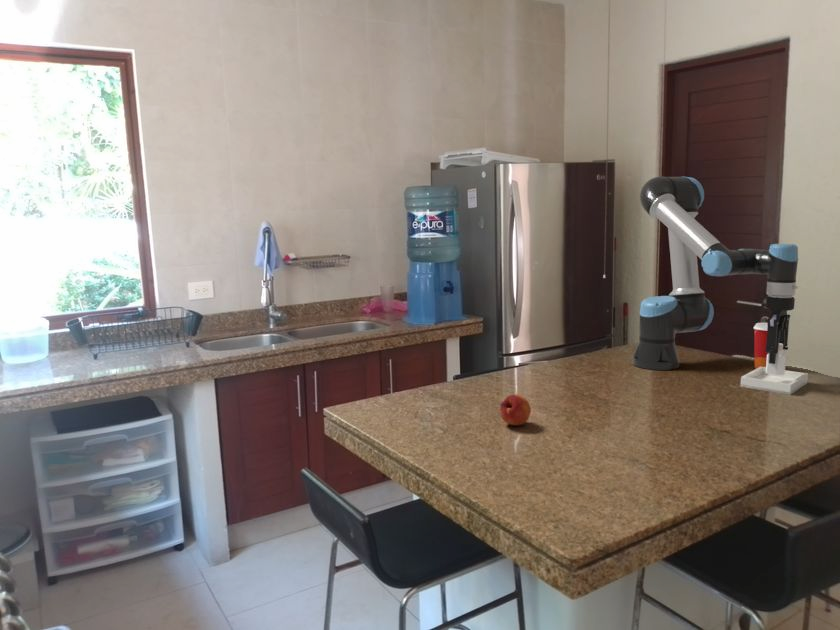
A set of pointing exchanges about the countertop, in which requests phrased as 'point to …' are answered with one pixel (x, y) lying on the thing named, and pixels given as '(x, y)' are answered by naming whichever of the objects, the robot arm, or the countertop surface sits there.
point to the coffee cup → (760, 345)
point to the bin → (774, 381)
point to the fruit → (515, 410)
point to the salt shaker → (779, 361)
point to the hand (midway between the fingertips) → (775, 372)
